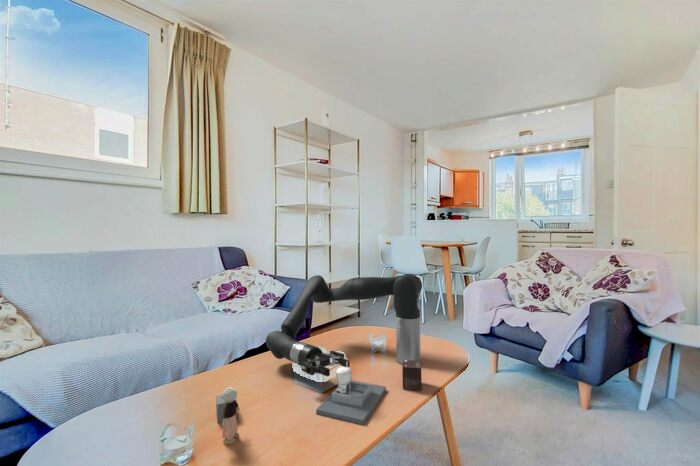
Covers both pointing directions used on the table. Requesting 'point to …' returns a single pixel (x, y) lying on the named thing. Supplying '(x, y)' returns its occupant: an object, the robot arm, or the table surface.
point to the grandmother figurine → (230, 416)
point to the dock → (352, 402)
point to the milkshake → (344, 379)
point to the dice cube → (221, 408)
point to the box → (411, 375)
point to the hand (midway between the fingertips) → (339, 368)
